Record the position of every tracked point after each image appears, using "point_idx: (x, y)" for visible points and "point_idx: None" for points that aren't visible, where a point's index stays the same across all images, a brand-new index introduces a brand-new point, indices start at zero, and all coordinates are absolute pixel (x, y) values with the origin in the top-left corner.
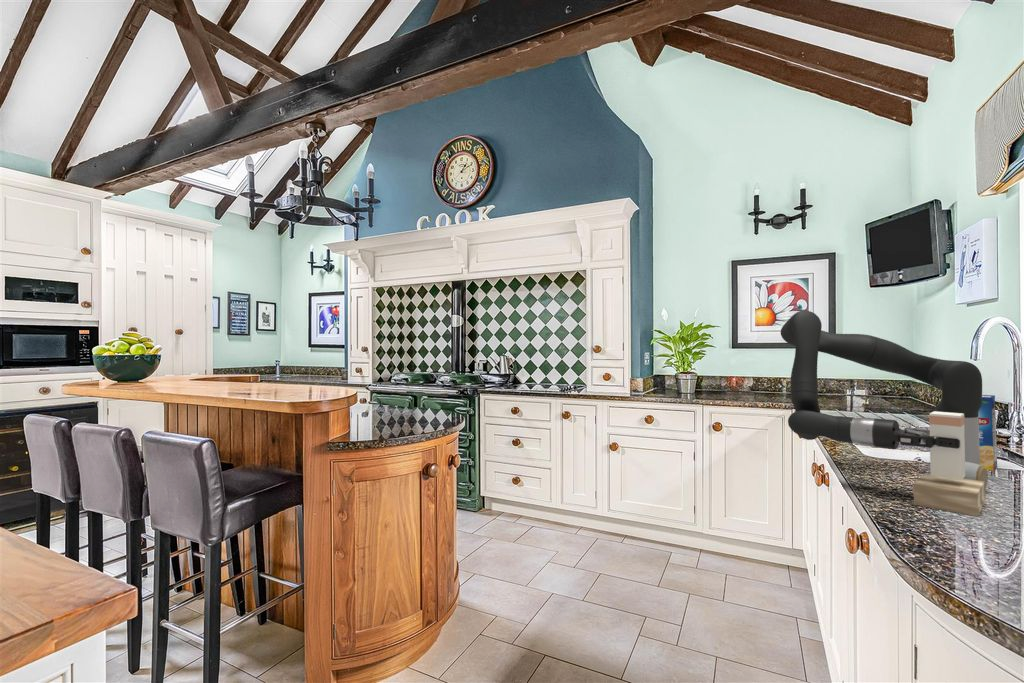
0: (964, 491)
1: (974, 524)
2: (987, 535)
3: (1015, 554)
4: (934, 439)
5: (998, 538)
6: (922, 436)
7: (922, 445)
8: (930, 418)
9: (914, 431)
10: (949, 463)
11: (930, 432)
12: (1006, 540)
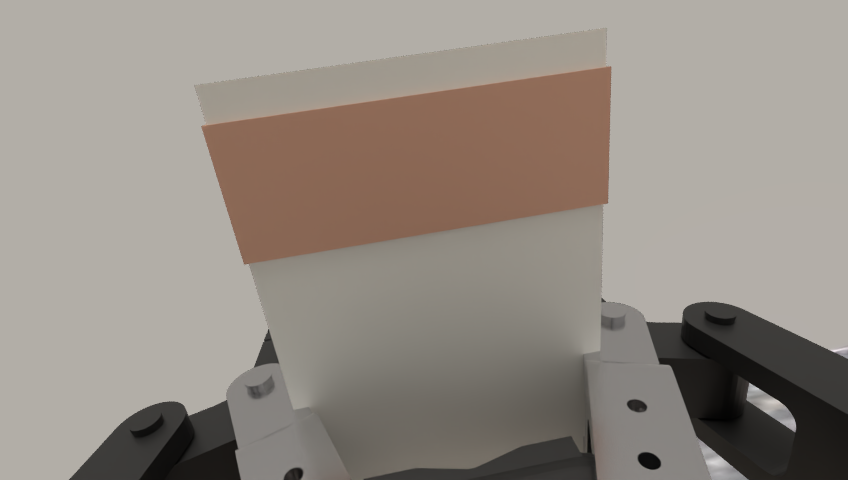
0: None
1: (711, 477)
2: (777, 419)
3: (832, 349)
4: (658, 325)
5: (762, 398)
6: (793, 349)
7: (792, 438)
8: (603, 113)
9: (685, 476)
10: None
11: (595, 312)
12: (750, 385)
